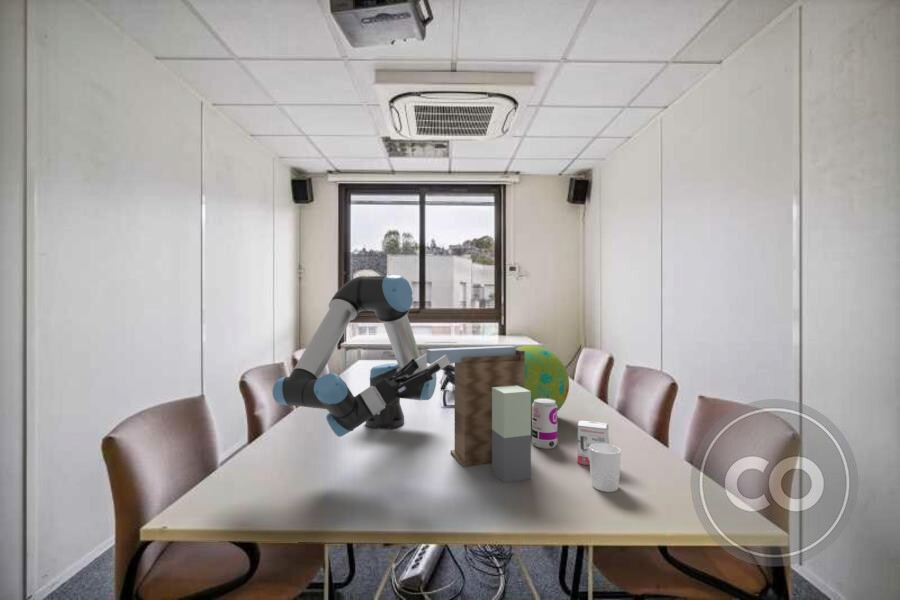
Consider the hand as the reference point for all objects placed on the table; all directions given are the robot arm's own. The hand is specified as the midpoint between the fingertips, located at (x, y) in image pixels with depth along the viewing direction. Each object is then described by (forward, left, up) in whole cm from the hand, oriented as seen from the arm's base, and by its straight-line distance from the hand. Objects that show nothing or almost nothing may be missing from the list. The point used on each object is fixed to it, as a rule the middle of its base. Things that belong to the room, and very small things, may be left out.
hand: (441, 355), depth 125 cm
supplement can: (-13, +35, -32) cm, 50 cm away
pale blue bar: (-3, +10, -2) cm, 10 cm away
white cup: (+18, +42, -32) cm, 56 cm away
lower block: (+10, +19, -32) cm, 39 cm away
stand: (-5, +15, -32) cm, 36 cm away
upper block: (+10, +19, -20) cm, 30 cm away
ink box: (+3, +45, -32) cm, 56 cm away
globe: (-43, +38, -32) cm, 66 cm away
